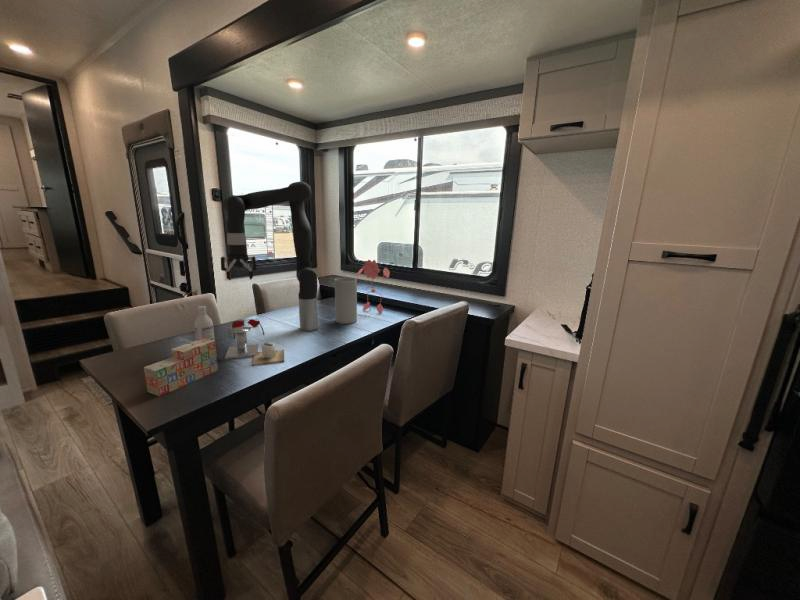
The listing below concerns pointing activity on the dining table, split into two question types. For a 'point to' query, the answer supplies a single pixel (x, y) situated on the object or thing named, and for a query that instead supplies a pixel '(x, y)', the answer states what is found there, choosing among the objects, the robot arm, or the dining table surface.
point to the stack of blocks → (182, 367)
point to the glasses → (252, 322)
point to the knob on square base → (241, 345)
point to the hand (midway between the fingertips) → (240, 279)
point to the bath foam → (203, 325)
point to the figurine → (372, 271)
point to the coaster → (260, 361)
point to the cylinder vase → (346, 300)
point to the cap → (268, 350)
